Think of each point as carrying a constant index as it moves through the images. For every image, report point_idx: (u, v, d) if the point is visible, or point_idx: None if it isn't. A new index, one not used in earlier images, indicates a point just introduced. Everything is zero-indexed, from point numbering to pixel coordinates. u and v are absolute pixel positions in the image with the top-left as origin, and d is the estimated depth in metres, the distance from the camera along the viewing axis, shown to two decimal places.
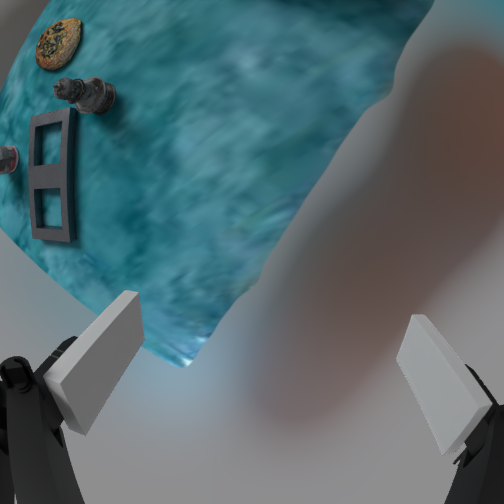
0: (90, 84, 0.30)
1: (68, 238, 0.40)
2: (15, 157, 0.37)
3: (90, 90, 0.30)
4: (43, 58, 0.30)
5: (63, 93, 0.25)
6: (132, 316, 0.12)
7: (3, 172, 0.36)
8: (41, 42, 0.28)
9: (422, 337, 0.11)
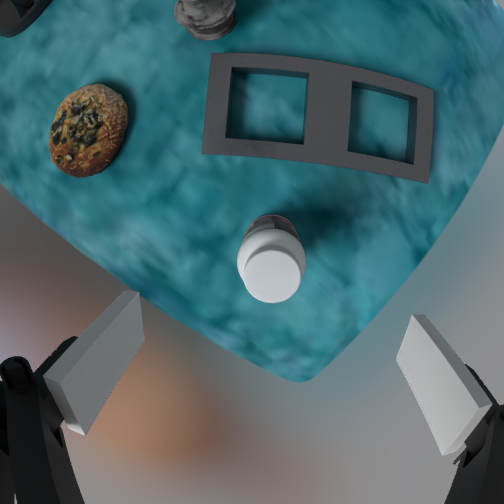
0: None
1: (428, 91, 0.21)
2: (273, 215, 0.27)
3: None
4: (97, 139, 0.24)
5: None
6: (132, 316, 0.12)
7: None
8: (68, 150, 0.24)
9: (422, 338, 0.11)
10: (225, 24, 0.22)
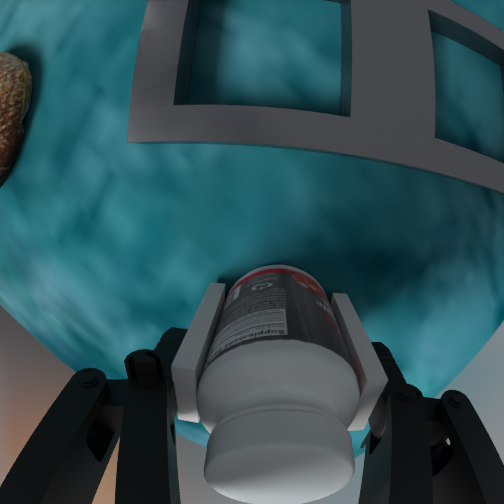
0: None
1: None
2: (281, 270, 0.13)
3: None
4: None
5: None
6: (222, 306, 0.14)
7: None
8: None
9: (336, 314, 0.13)
10: None
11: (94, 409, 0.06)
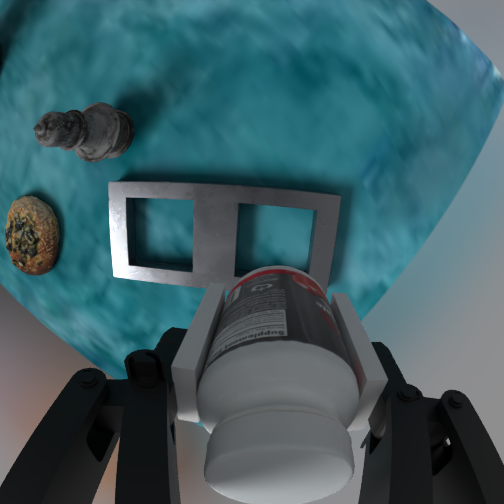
0: None
1: (334, 198, 0.25)
2: (281, 270, 0.13)
3: None
4: (38, 252, 0.28)
5: (54, 116, 0.15)
6: (222, 306, 0.14)
7: None
8: (19, 258, 0.27)
9: (336, 314, 0.13)
10: (122, 140, 0.25)
11: (94, 409, 0.06)
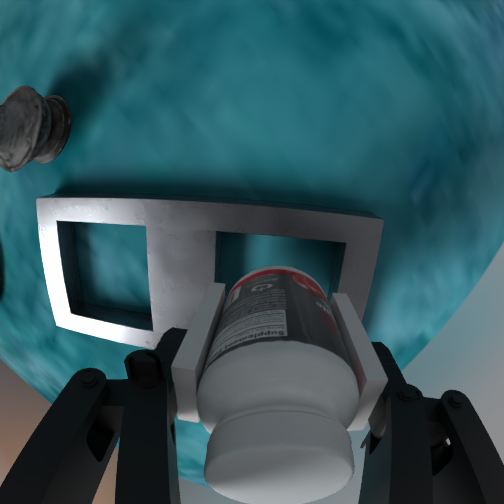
0: None
1: (373, 224, 0.15)
2: (281, 271, 0.13)
3: None
4: None
5: None
6: (222, 306, 0.14)
7: None
8: None
9: (336, 314, 0.13)
10: (56, 137, 0.15)
11: (94, 409, 0.06)
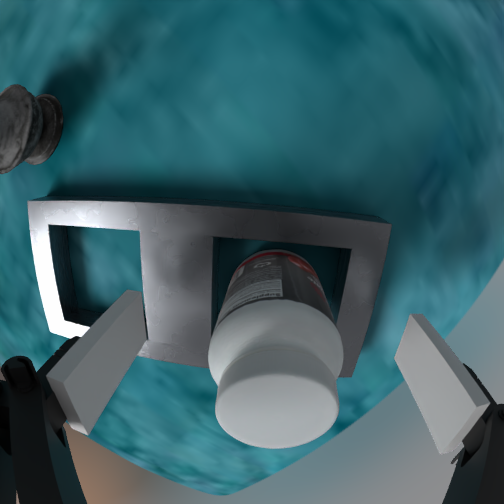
0: None
1: (380, 229, 0.14)
2: (279, 253, 0.15)
3: None
4: None
5: None
6: (134, 316, 0.12)
7: None
8: None
9: (420, 337, 0.11)
10: (48, 137, 0.14)
11: None
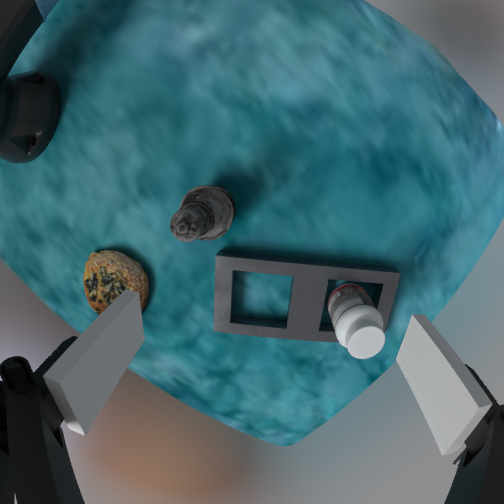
0: None
1: (395, 275, 0.31)
2: (352, 285, 0.33)
3: (200, 201, 0.28)
4: None
5: (196, 217, 0.23)
6: (132, 316, 0.12)
7: None
8: None
9: (422, 337, 0.11)
10: None
11: None
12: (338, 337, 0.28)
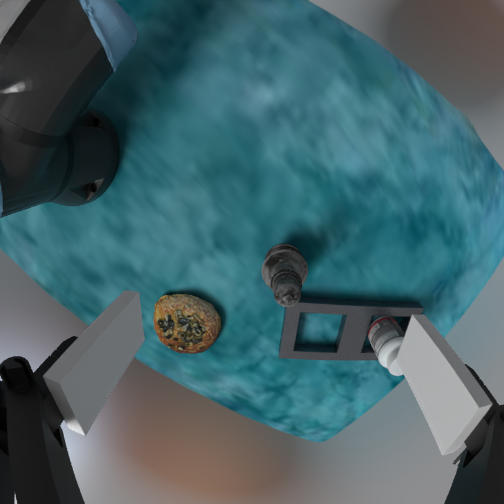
0: (275, 267, 0.35)
1: (420, 310, 0.39)
2: (387, 318, 0.40)
3: (285, 266, 0.34)
4: (202, 340, 0.42)
5: (297, 290, 0.30)
6: (132, 316, 0.12)
7: None
8: (179, 345, 0.42)
9: (422, 337, 0.11)
10: None
11: None
12: (380, 360, 0.36)
